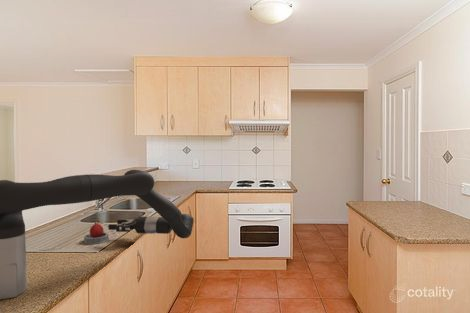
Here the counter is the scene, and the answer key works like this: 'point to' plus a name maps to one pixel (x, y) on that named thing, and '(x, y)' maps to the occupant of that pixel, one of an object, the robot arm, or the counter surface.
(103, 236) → the grey round tray
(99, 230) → the onion
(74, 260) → the counter surface
